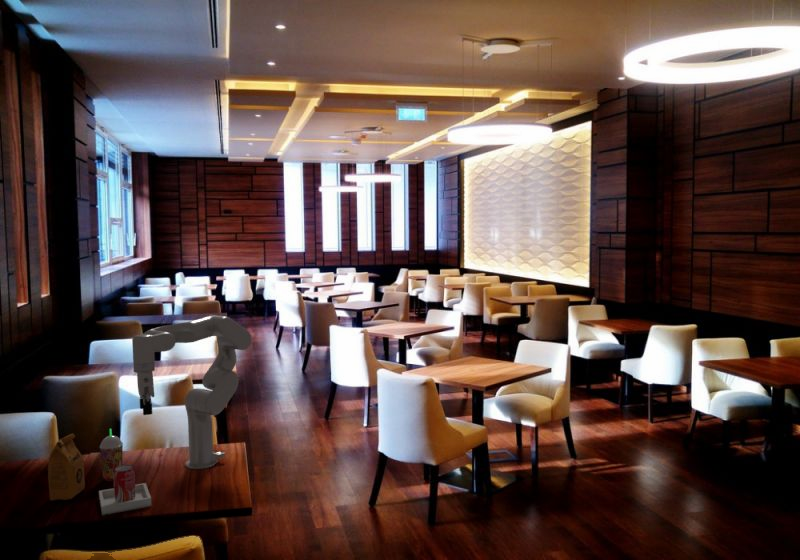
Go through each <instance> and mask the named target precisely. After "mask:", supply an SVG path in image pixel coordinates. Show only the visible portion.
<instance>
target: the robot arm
mask: <svg viewBox="0 0 800 560" xmlns="http://www.w3.org/2000/svg"><path fill="white" fill-rule="evenodd" d="M212 337H216V342H217V348H218V349H217V350H218V351H217V356H216V357H215V360H214V361H213V363H212V364H211V365H210V367H209V368H208V370H207V371H206V373H205V374H204V376H203V377H202V385H203V387H204V388H192V389H191V390H189V391H187V394H185V397H184V406H185V410H186V415H187V426H188V428H187V431H188V433H187V434H188V455H189V457H188V460H187V461H186V462H185V467H186V468H187V469H190V470H205V469H209V467H210V468H212V466H213V467H215V466H216V465H217V464H218V459H220V458H221V459H222V458H226V452H221V451H218V452H215V451H214V439H213V438H214V437H213V420H212V419H213V418H212V416H217V415H219V414H221V412H223V410H224V409H225V408H226V406H227V405H228V403H229V401H230V400H231V398H232V397H233V395H234V394H235V392H236V391H237V389H238V387H239V376H238V374H237V373H236V372H235V371H234V368H235V367H236V364H237V354H236V350H238V351H244V350H248V349H249V348H250V347H251V345H252V342H253V338H252V334H251V333H250V331H249V330H247V329H246V328H245V327H243V326H242V325H241V324H240V323H238V322H237V321H235V319H233V318H230V317H229V316H224V315H217V314H215V315H213V314H211V315H207V316H204V317H200V318H197V319H194V320H190V321H189V320H188V321H185V322H179V323H173V324H167V325H162V326H158V327H155V328H151V329H148V330H146V331H145V332H144V333H140V334H136V335H134V336H132V340H131V341H132V360H133V361H132V362H133V365H132V366H133V373H136V375H137V376H136V377H137V382H136V383H137V391H138V395H139V409H140V410H142V415H143V416H148V415H153V403H152V398H154V397H155V384H154V376H153V372H154V371H155V370H156V369H155V366H156V365H155V353H160V352H168V351H170V350H172V349H174V347H175V346H176V344H177V343H179V344H188V343H194V342H198V341H201V340H206V339H208V338H212ZM216 463H217V464H216ZM215 464H216V465H215ZM214 465H215V466H214Z"/></svg>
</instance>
